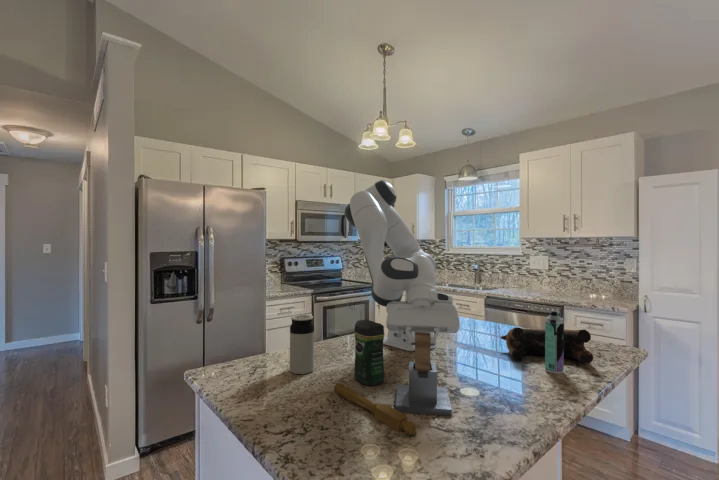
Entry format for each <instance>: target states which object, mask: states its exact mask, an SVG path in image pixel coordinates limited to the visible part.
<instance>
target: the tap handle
mask: <svg viewBox="0 0 719 480" xmlns="http://www.w3.org/2000/svg"><path fill="white" fill-rule="evenodd" d="M333 391H334V393H335V394H337V395H339V396H341V397H342V398H344V399H346V400H347V401H348V402H349V401H350V402H351V403H353V404H355V405H357V406H360V407H362V408H363V409H366V411H367V410H368V411H370V413H371V415H373V416H374V419H376V420H378V421H379V422H381V423H382V424H384V425H386V426H387V427H389V428H391V429H393V431H396V432H402V431H403V432H404V433H405V434H406V435H408V436H413V435H415V434H416V432H417V426H416V423H414V422H413V421H409V419H408V416H407V414H405V413H404V412H400V411H398V410H396V409H395V407H394V408H393V407H391V406H390V405H389V404H386V403H380V404H379V403H377V402H373V401H372V400H370V399H368V398H366V397H365V396H363V395H361V394H360V393H359V392H357V391H355V390H353V389H351V388H349V387H348V386H345V385H344V384H343V383H340V382H339V383H336V384H335V385H334V388H333Z"/></svg>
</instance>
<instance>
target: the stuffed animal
mask: <svg viewBox="0 0 719 480" xmlns="http://www.w3.org/2000/svg"><path fill="white" fill-rule="evenodd" d="M591 338H592V337H591V334H590V331H588V330H586V329H564V358H565V359H567V358H568V359H571V360H572V359H573V360H576V361H578V362H581V363H582V364H590V363H592V362H593V361H594V355H593V353H592V352H591V351H589V350H588V349H586V347H585V344H587V343H589V342H590V340H592V339H591ZM500 339H501V340H504V341H506V342H505V343H506V347H507V349H508V352H509V354H510V356H511V359H512V360H513V362H514V361H515V362H522V361H523V359H524V355H536V356H537V355H539V356H545V329H538V328H537V329H535V328H522V327H519V326H517V327H513V328H511V329H509V330H508V332H507V333H506V334H505V335H501V336H500Z"/></svg>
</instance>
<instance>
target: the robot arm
mask: <svg viewBox="0 0 719 480" xmlns="http://www.w3.org/2000/svg"><path fill="white" fill-rule="evenodd" d="M349 200H350V201H349V203H348V204H347V205H346V207H345V208H344V216H345V218H346V220H347V221H348V223H349V224H350V225H351V226H352V227H355V228H356V231H357V234H358V237H359V241H360V243H361V248H362V251H363V255H364V258H365V261H366V266H367V269H368V273H369V275H370V279H371V290H370V291H371V292H370V293H371V298H372V299H373V300H374V302H375V303H377V304H378V305H380V306H382V307H385V310H386V313H387V315H386V325H385V326H386V328H387V330H388V332H387V336H386V337H384V339H383V345H387V346H390V347H393V348H396V349H401V350H405V351H408V352H413V351H414V352H415V332H427V333H430V336H431V350H433V349H435V348H436V347H437V339H438V338H439V336H440V333H443V334H457V333H459V331H460V327H461V324H460V317H459V313H458V309H457V308H456V306H455V305H454V301H453V296H451V295H449V294H445V293H442V292H439V291H437V289H436V283H437V280H436V279H437V278H436V276H437V275H436V270H437V269H436V268H437V267H436V266H437V265H436V260H435V259H434V257H433V256H432V255H431V254H430V253H428V252H425V251H424V250H423V249H422V247H421V245H420V244H419V242H418V240H417V238H416V237H415V235H414V233H413V232H412V229H410V227H409V226H408V225H407V223H406V222H405V220H404V219H403V217H402V216H401V215H400V213H399V212H397V210H396V209H395V206H396V204H395V203H396V202H397V193H396V189H395V187H394V186H393V185H392V184H391V183H389V182H388V181H386V180H384V179H382V180H379V181H377V182H375V183H374V184H373V185H371V186H370V187H368V188H366V189H364V190H360V191H357V192H356V193H354V194H353V195H352V196H351V198H350V199H349ZM385 243H386V244H387V246H388V247H389V248H390V250H391V251H392V253H393V255H394V256H389V257H387V258H385V255H384V248H385ZM404 292H405V295H404V296H405V297H404V299H405V300H402V299H403V294H404Z"/></svg>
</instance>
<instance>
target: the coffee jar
mask: <svg viewBox="0 0 719 480" xmlns="http://www.w3.org/2000/svg"><path fill="white" fill-rule="evenodd" d="M353 331H354V339H355V340H354V341H355V348H354V349H355V350H354V351H355V352H354V353H355V354H354V368H353V369H354V370H353V371H354V372H353V373H354V374H353V375H354V376H353V377H354V379H355V380H356V381H358V383H361V384H363V385H365V386H377V385H379V384H382V383H383V382H384V381H385V364H384V344H383V339H384V338H385V327H384V325H383V324H381V323H378V322H376V321H372V320H369V319H361V320H360V319H359V320H357V321H356V322H355V324H354V330H353Z"/></svg>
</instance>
